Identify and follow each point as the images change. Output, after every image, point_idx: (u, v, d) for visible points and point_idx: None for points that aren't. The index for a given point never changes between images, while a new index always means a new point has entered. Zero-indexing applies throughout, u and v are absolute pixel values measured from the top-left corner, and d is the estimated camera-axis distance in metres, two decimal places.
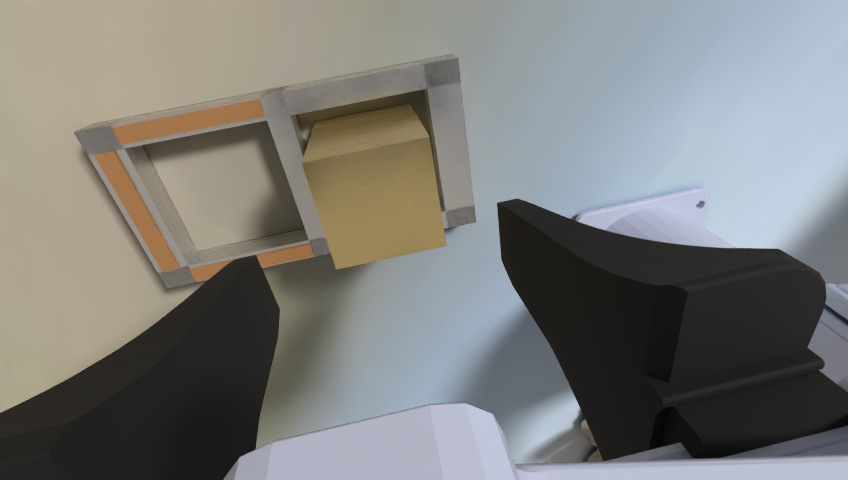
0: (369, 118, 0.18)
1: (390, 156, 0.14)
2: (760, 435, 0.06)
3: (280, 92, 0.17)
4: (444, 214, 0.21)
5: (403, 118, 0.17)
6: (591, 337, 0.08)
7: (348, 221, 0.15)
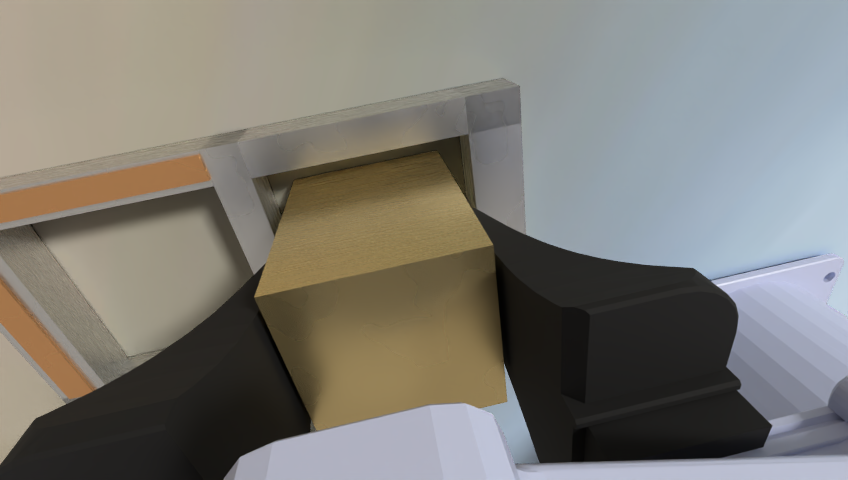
0: (377, 180, 0.11)
1: (420, 279, 0.08)
2: (670, 458, 0.05)
3: (233, 143, 0.11)
4: None
5: (433, 186, 0.10)
6: (526, 352, 0.08)
7: (343, 380, 0.09)
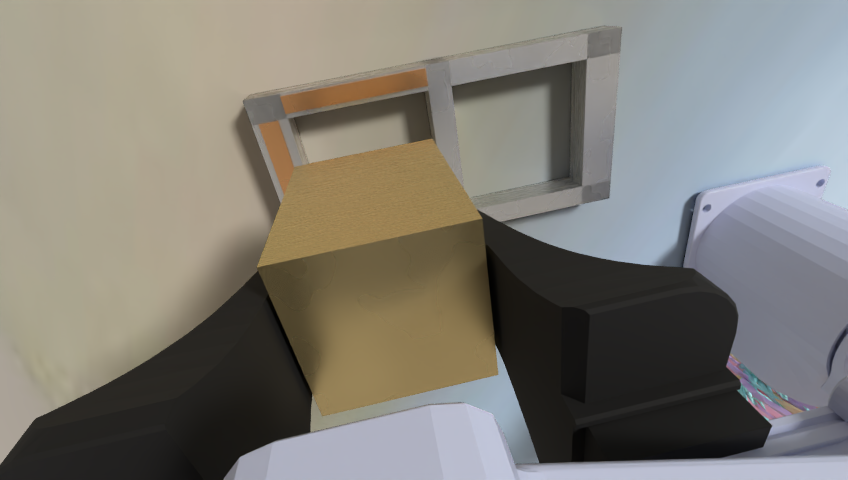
0: (374, 166, 0.12)
1: (413, 251, 0.08)
2: (670, 458, 0.05)
3: (446, 61, 0.17)
4: (580, 190, 0.21)
5: (428, 170, 0.11)
6: (526, 352, 0.08)
7: (341, 350, 0.09)
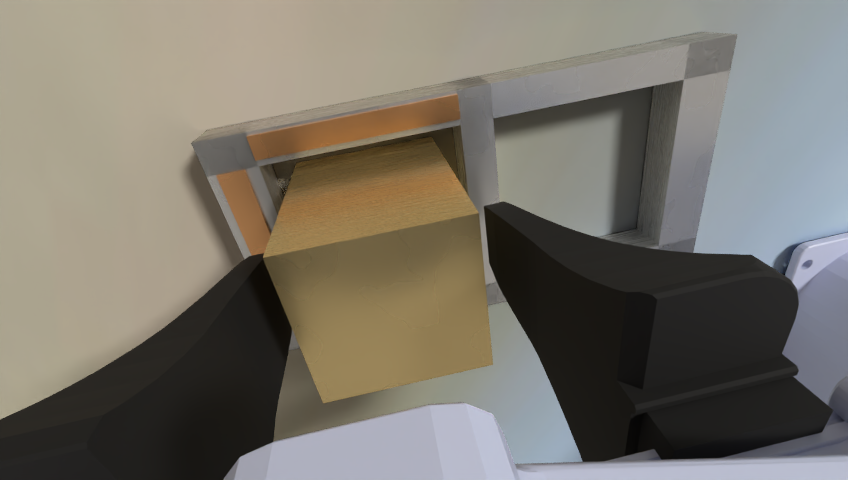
0: (375, 162, 0.12)
1: (413, 244, 0.09)
2: (732, 442, 0.06)
3: (487, 84, 0.12)
4: None
5: (427, 166, 0.11)
6: (570, 342, 0.08)
7: (342, 339, 0.10)
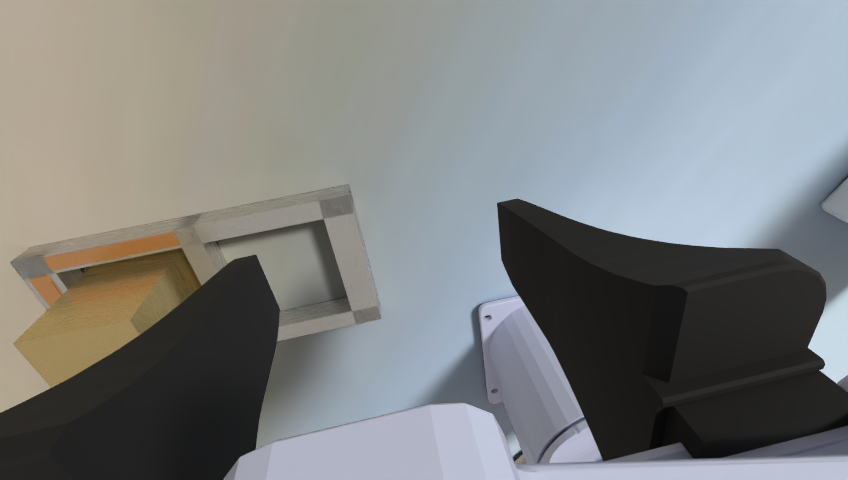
0: (130, 269, 0.20)
1: (97, 335, 0.17)
2: (760, 435, 0.06)
3: (192, 226, 0.20)
4: (351, 313, 0.24)
5: (148, 277, 0.19)
6: (591, 337, 0.08)
7: None
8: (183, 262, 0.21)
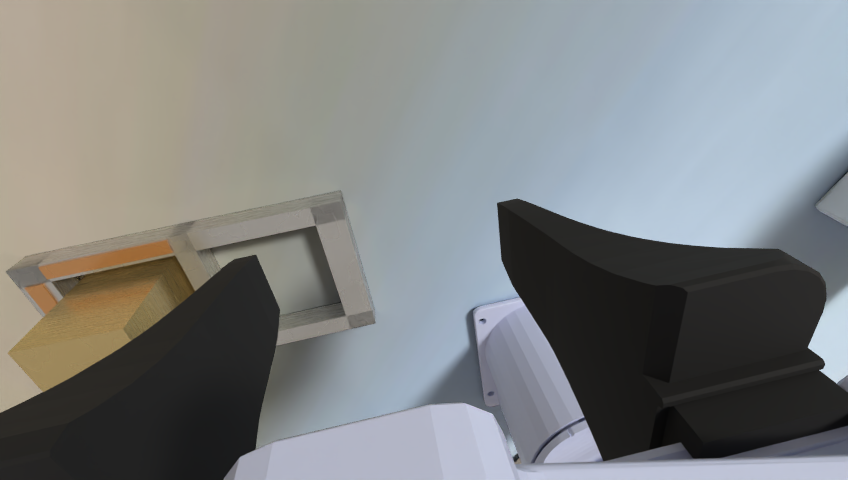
0: (125, 277, 0.20)
1: (91, 344, 0.17)
2: (760, 435, 0.06)
3: (185, 234, 0.20)
4: (345, 318, 0.24)
5: (142, 285, 0.19)
6: (591, 337, 0.08)
7: None
8: (177, 269, 0.22)
